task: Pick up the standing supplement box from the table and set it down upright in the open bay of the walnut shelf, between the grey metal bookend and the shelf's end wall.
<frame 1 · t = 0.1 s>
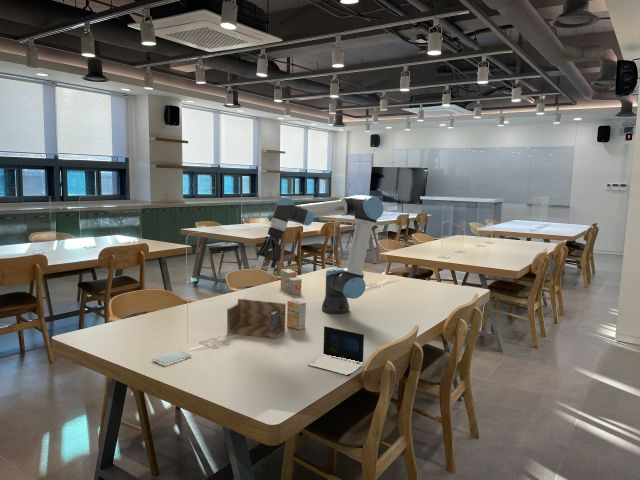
hand: (263, 271, 223), 28 cm above the table, tool tilted 20°, fingers open, 13 cm apart
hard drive: (172, 361, 186), on the table
laptop: (335, 367, 184), on the table
shelf: (256, 332, 222), on the table
supplement box: (296, 328, 230), on the table
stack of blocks: (290, 290, 305), on the table
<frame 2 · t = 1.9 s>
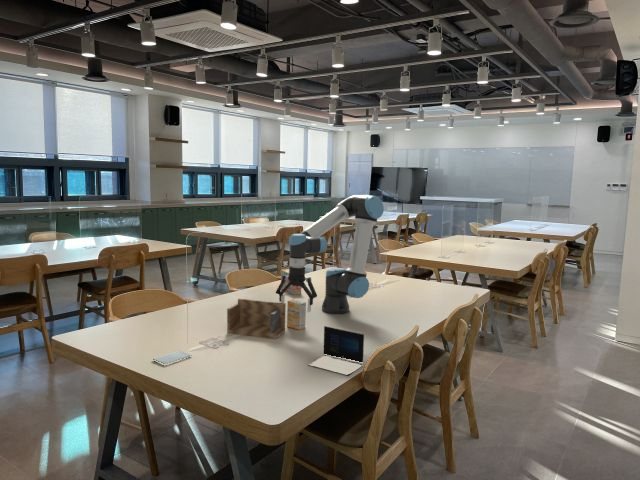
hand: (295, 310, 228), 9 cm above the table, tool pointing down, fingers open, 13 cm apart
nothing on the table moved.
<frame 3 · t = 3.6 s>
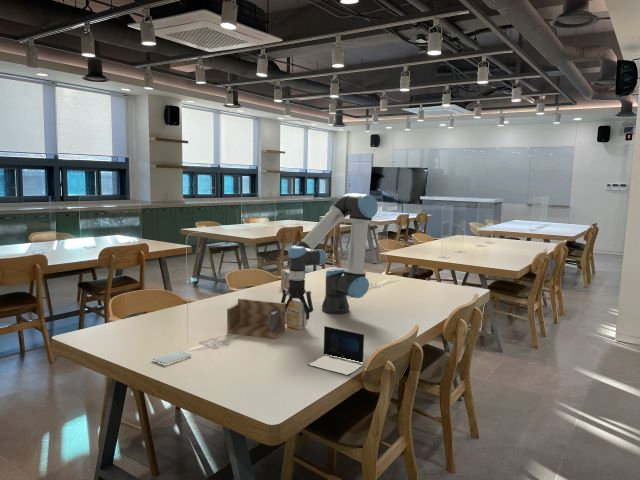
hand: (296, 324, 229), 1 cm above the table, tool pointing down, fingers closed on supplement box, 9 cm apart
supplement box: (296, 327, 230), on the table, touching gripper
everything else where it was.
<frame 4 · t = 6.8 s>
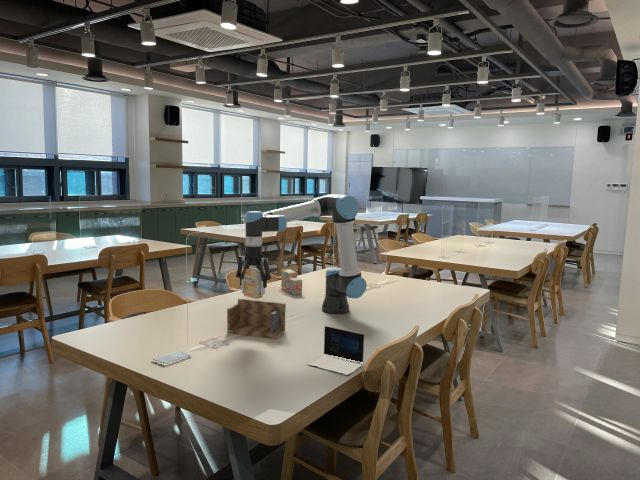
hand: (253, 293, 219), 18 cm above the table, tool pointing down, fingers closed on supplement box, 9 cm apart
supplement box: (253, 297, 219), point 17 cm above the table, touching gripper
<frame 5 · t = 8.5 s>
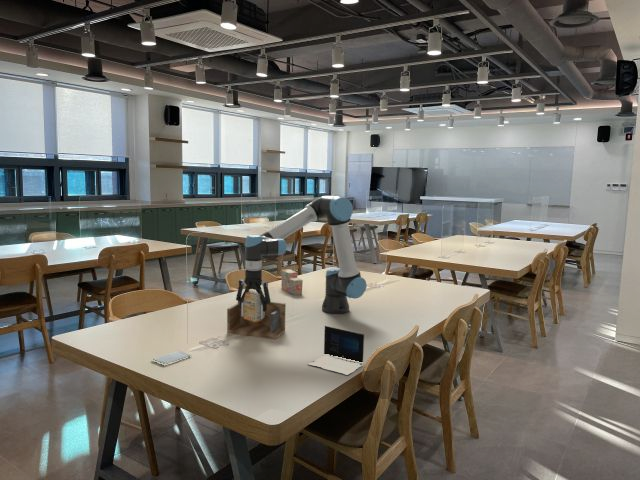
hand: (253, 316, 220), 7 cm above the table, tool pointing down, fingers closed on supplement box, 9 cm apart
supplement box: (252, 320, 220), point 6 cm above the table, touching gripper
when the fingers open (5 cm above the table, at t = 10.0 s): supplement box drops 2 cm, resting on shelf.
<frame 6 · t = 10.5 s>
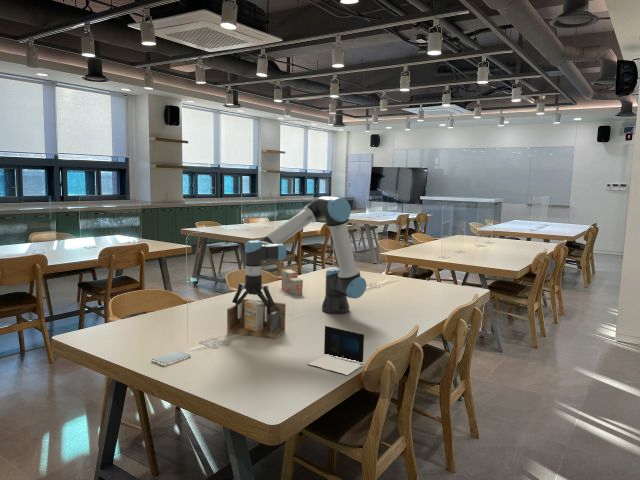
hand: (253, 319, 220), 6 cm above the table, tool pointing down, fingers open, 13 cm apart
supplement box: (253, 329, 221), point 1 cm above the table, touching shelf
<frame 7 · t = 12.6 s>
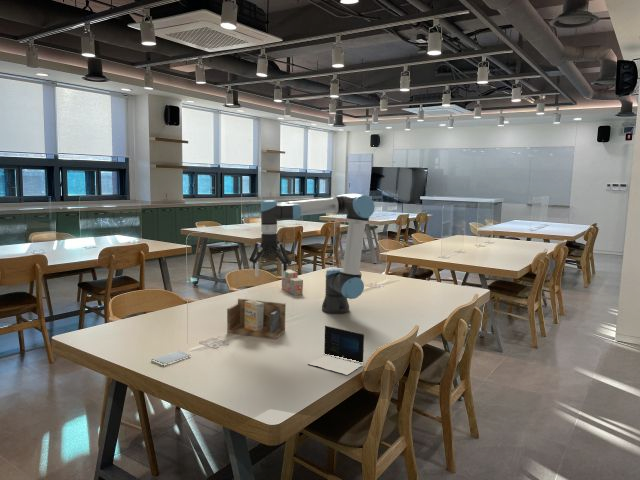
hand: (270, 276, 228), 24 cm above the table, tool pointing down, fingers open, 13 cm apart
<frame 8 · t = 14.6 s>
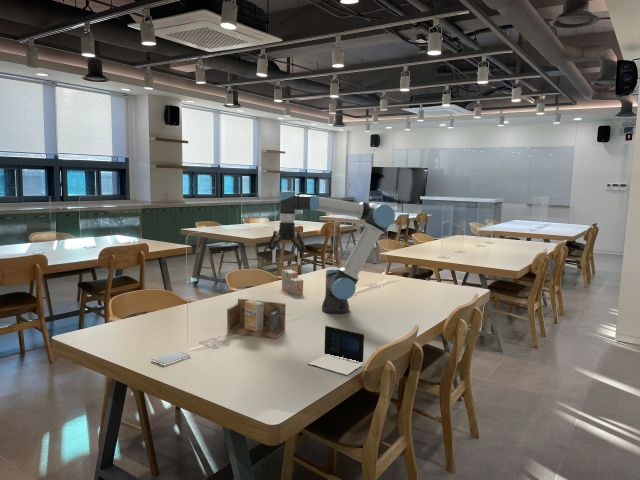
hand: (286, 263, 240), 29 cm above the table, tool pointing down, fingers open, 13 cm apart
at the end: supplement box inside the target area (0.6 cm from its centre), point 1.3 cm above the table; supplement box tilted 0°; the gripper is holding nothing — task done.
